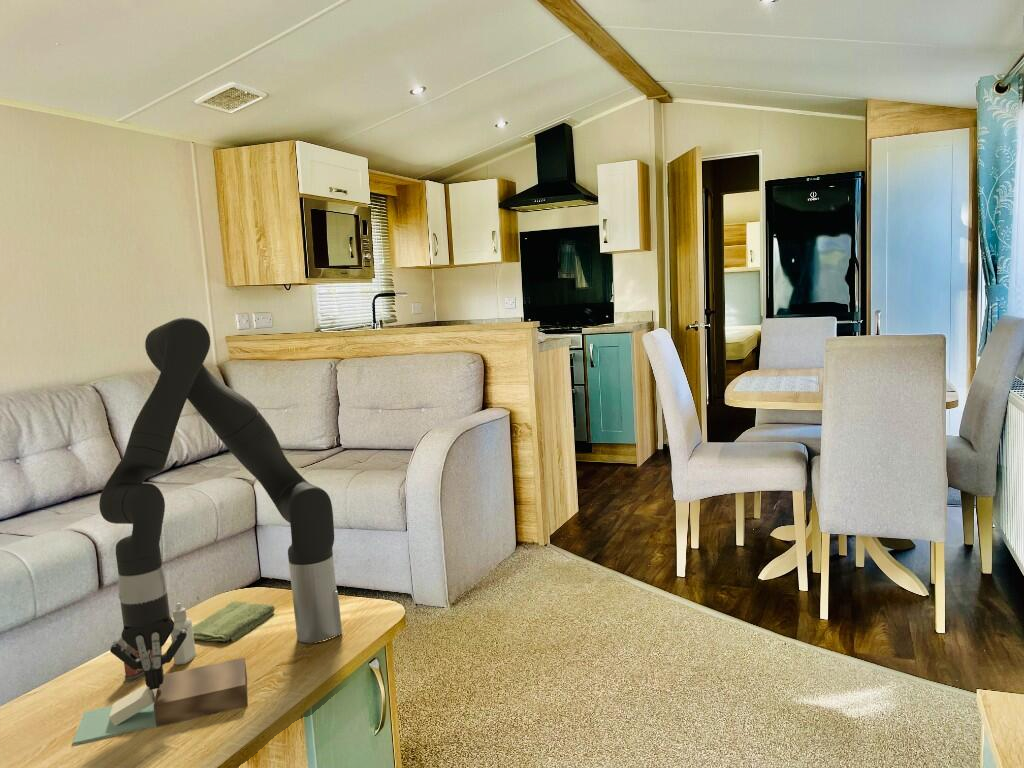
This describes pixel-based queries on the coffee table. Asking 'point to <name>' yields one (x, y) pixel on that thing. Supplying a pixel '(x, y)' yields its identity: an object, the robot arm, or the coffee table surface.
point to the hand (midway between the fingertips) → (155, 686)
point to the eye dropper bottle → (188, 645)
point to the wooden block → (201, 692)
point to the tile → (132, 704)
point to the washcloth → (232, 621)
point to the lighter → (138, 673)
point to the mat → (111, 724)
